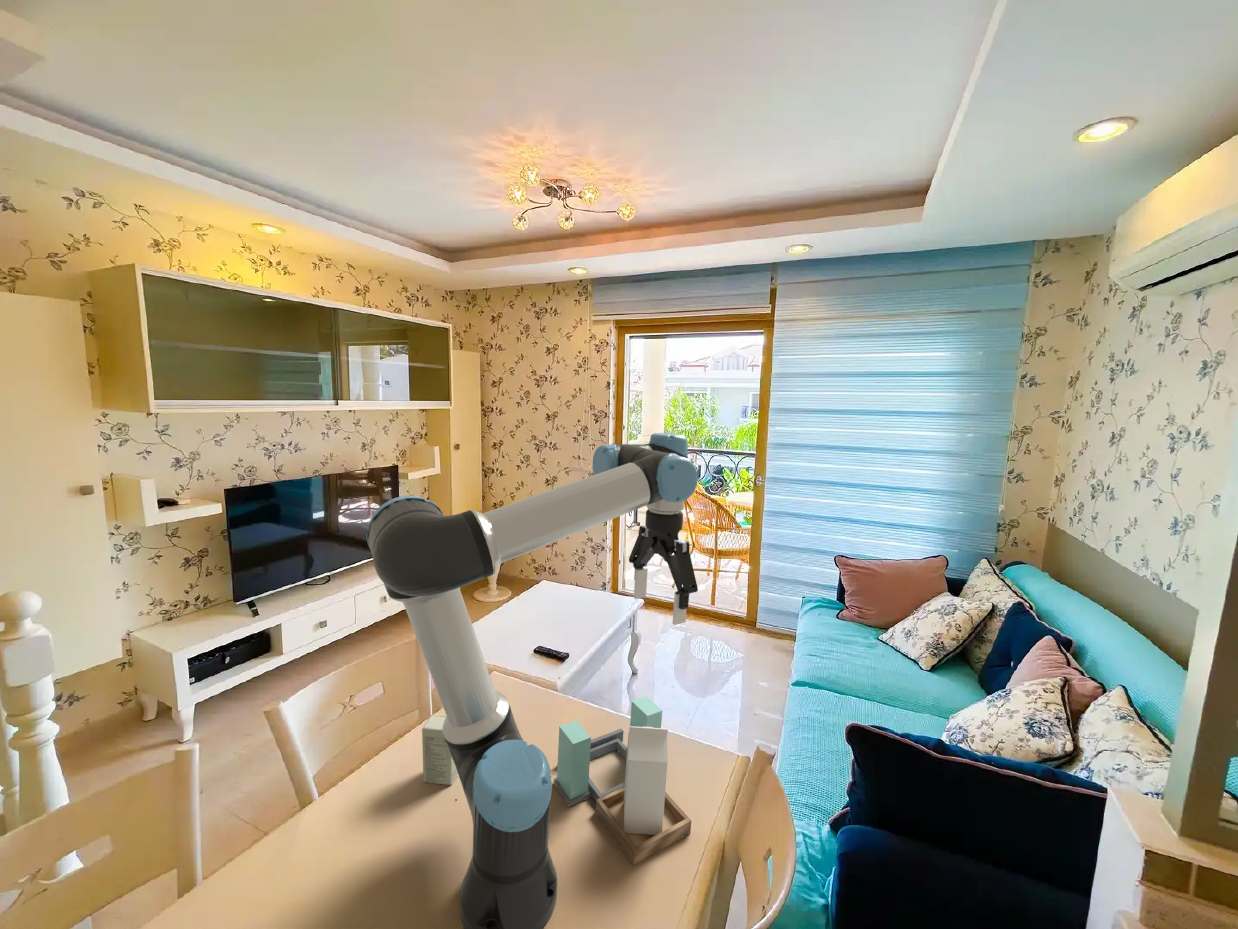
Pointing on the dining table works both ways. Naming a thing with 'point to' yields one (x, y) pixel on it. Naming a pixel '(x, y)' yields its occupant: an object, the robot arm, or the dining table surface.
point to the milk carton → (645, 780)
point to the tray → (641, 844)
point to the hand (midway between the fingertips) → (658, 609)
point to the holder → (595, 752)
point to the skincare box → (436, 754)
